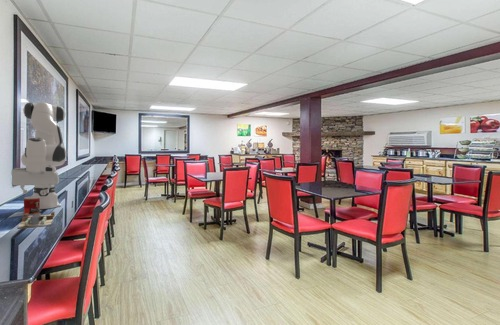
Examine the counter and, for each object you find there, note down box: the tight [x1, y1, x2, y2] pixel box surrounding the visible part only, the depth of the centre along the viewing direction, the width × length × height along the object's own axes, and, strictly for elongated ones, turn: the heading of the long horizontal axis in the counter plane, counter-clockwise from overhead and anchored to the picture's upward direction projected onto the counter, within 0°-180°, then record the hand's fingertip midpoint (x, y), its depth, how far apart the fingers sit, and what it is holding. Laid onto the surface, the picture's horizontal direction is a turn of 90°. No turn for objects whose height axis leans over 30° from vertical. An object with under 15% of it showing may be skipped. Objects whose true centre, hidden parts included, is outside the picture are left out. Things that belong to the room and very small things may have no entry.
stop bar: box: [31, 212, 42, 226], centre depth 151 cm, size 10×3×4 cm, turn 31°
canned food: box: [23, 195, 41, 215], centre depth 171 cm, size 8×8×11 cm
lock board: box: [17, 210, 56, 230], centre depth 156 cm, size 24×14×4 cm, turn 31°
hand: (36, 193), depth 150 cm, fingers open, 8 cm apart
